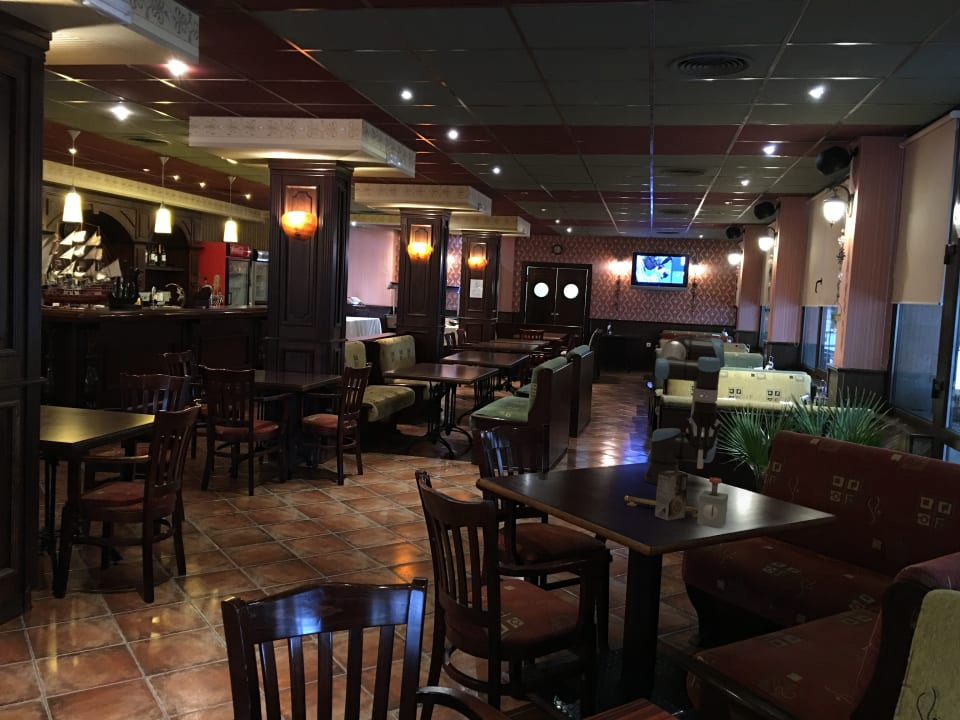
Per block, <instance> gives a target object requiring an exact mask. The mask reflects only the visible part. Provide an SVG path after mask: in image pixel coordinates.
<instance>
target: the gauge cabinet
mask: <svg viewBox="0 0 960 720" xmlns="http://www.w3.org/2000/svg"><path fill="white" fill-rule="evenodd" d="M698 500H699V501H698V508H699V510H698V517H697V525H699V524H700V525H701V526H705V525H706V527H710V526H712V527H711V528H718V529H723V527H724V526H725V524H726V522H727V511H728V501H729V493H724V492H719V491H717V494H712V493H711V490H704V491H702V493H701V494H700V495H699V499H698Z"/></svg>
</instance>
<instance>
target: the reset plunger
mask: <svg viewBox="0 0 960 720" xmlns="http://www.w3.org/2000/svg"><path fill="white" fill-rule="evenodd" d="M709 483H711V490H710V491H711V493H712V494H717V492H719V491H718V490H719V489H718V488H719V484H722V478H719V477H709Z"/></svg>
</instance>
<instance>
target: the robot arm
mask: <svg viewBox="0 0 960 720" xmlns="http://www.w3.org/2000/svg"><path fill="white" fill-rule="evenodd" d="M661 356H662V357H658V358H657V359H656V360H655V369H654V376H655V378H656V379H661V380H675V381H684V382H685V381H686V382H693V386H692V387H693V388H692V389H693V391H692V399H691V411H690V417H689V418H686V419H685V420H684V423H685V424H686V426H687V428H686V430H685V432H681V431H682V430H681V429H680V428H675V427H669V428H668V427H665V428H664V427H663V428H657V429H655V430H654V431H653V432H652V436H651V449H650V457H649V458H650V459H649V464H648V466H647V468H646V472H645V474H644V478H643V479H644V481H645V482H647V483H648V484H651V485H657V483H658V472H662V471H671V470H677V471H680V470H679V466H678V464H679V461H686V462H693V463H694V462H695V463H697V464H696V469H699V470H701V469H703V468H704V463H706V464H707V463H711V462H713V460H714V457H715V454H716V450H717V444H718V436H719V432H720V429H721V428H722V427H723V426H724V423H723V422H720V421H719V420H718V418H717V407H718V405H717V401H718V395H719V382H720V381H719V380H720V373H721V372H722V371H721V369H722V368H725V366H726V365H725V362H726V361H725V343H724V341H723V339H721V338H715V337H703V336H688V335H685V336H684V335H683V336H677V337H675V338H672V339H670V340H668V341H666V343H665V344H664V345H663V346H662V349H661ZM713 425H714V427H715V428H714V430H713V429H712V427H713Z"/></svg>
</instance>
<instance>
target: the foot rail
mask: <svg viewBox="0 0 960 720" xmlns="http://www.w3.org/2000/svg"><path fill="white" fill-rule="evenodd" d="M624 501H626V502H628V503H626V505H627V506H630V507H631V506H632V507H636V506H637V505H638V504H637V503H639V504H646V505H650V506H656V500H652V499H645V498H639V497H636V496H635V497H634V496H629V495H625V496H624ZM698 510H699V507H698V508H697V507H692V506H687V505H686V507H685V512H690V513H691V512H692V513H694V514H693V515H692V518H693V517H694V518H698Z"/></svg>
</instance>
